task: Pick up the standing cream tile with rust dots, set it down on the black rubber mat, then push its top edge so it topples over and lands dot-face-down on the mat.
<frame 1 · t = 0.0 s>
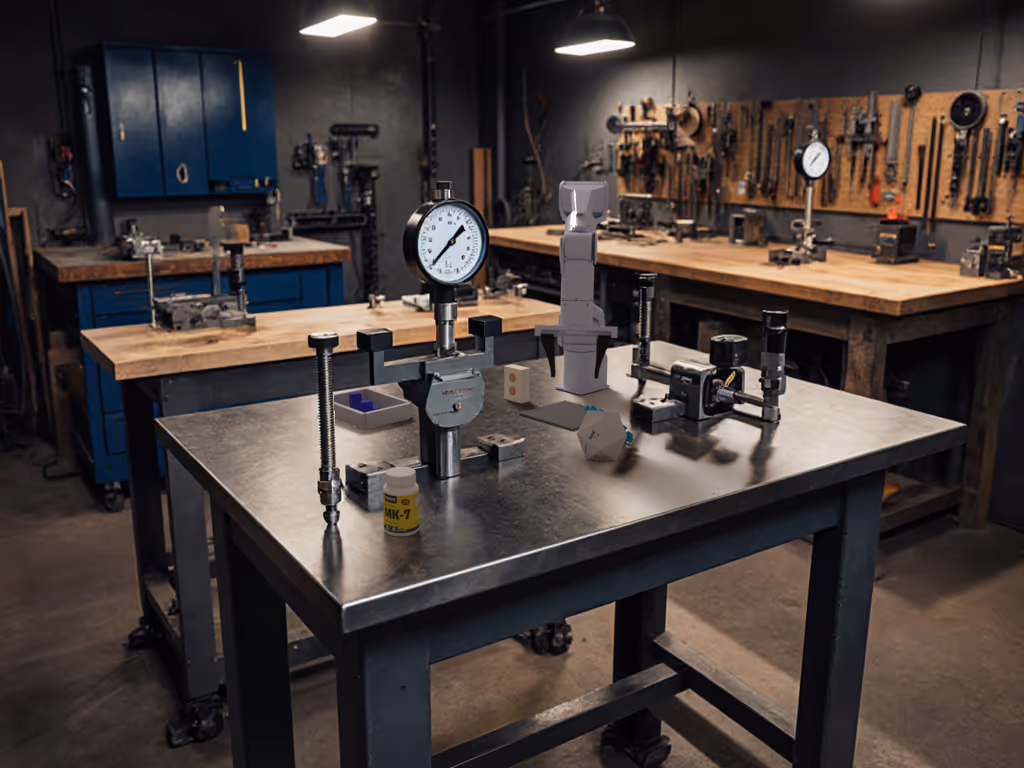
hand: (574, 377, 156), 11 cm above the table, tool pointing down, fingers open, 7 cm apart
die: (601, 458, 147), on the table
mat: (568, 415, 170), on the table
gear: (606, 445, 154), on the table
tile: (516, 400, 181), on the table
blue stepped block: (365, 417, 170), resting in parts tray
parts tray: (365, 415, 170), on the table
supplement bottle: (402, 531, 118), on the table
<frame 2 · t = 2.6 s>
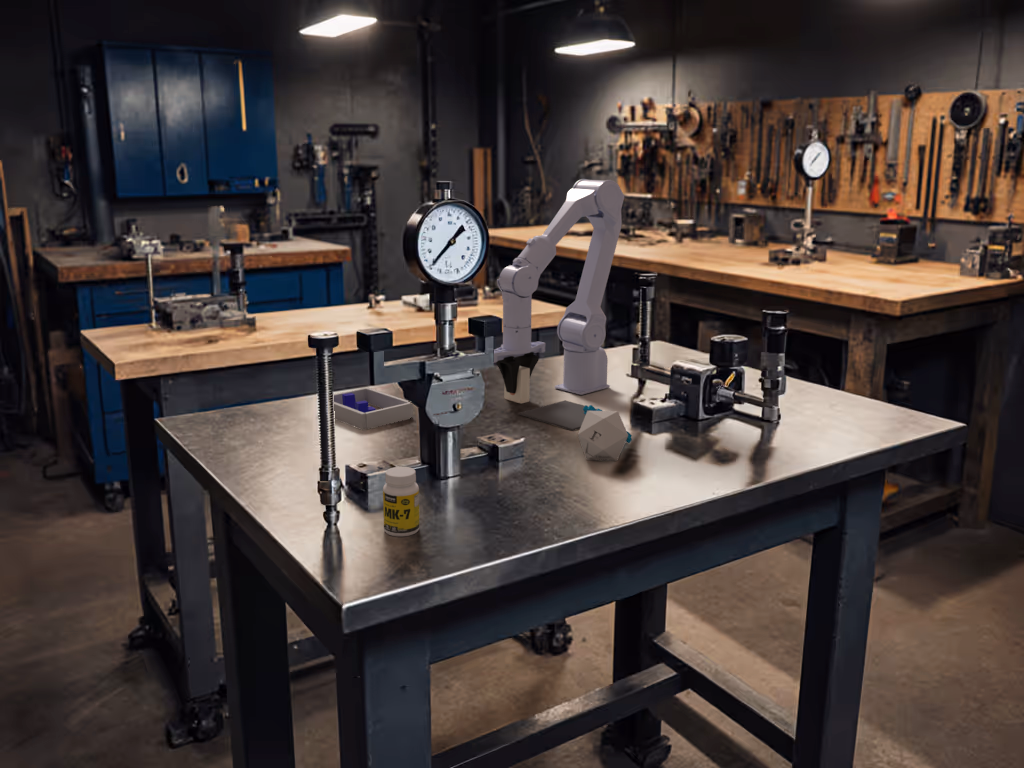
hand: (516, 390, 180), 2 cm above the table, tool pointing down, fingers closed on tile, 3 cm apart
die: (601, 458, 147), on the table, touching gear
gear: (604, 445, 154), on the table, touching die
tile: (516, 400, 181), on the table, touching gripper
blue stepped block: (359, 418, 169), resting in parts tray
everything else where it was.
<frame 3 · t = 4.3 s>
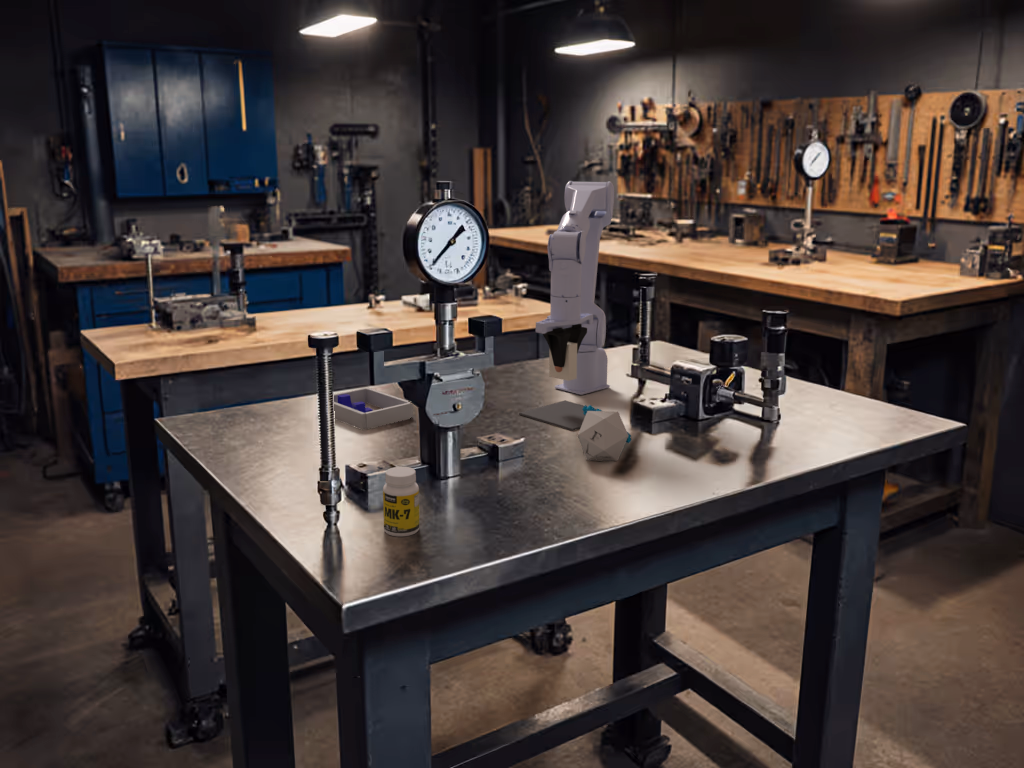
hand: (564, 365, 170), 9 cm above the table, tool pointing down, fingers closed on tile, 2 cm apart
die: (601, 458, 147), on the table
gear: (604, 445, 154), on the table
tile: (562, 377, 171), point 7 cm above the table, touching gripper
when the fingers open (3 cm above the table, at t = 6.0 s): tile stays where it is, resting on mat.
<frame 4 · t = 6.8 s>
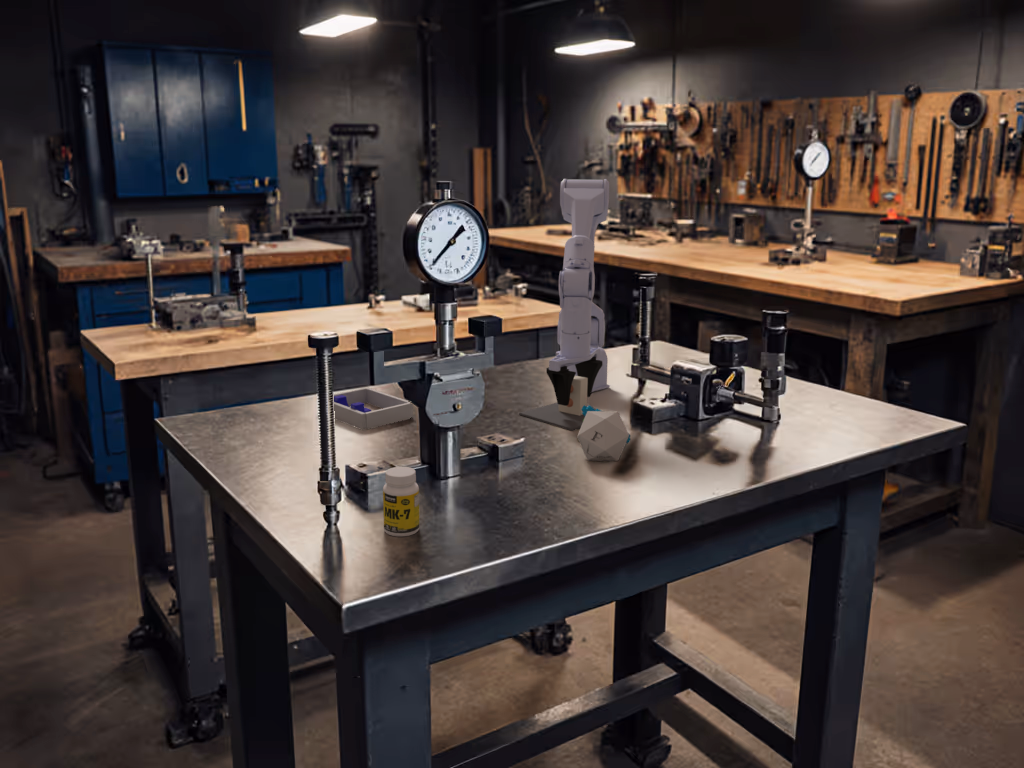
hand: (574, 400, 170), 3 cm above the table, tool pointing down, fingers open, 7 cm apart
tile: (572, 411, 171), resting on mat
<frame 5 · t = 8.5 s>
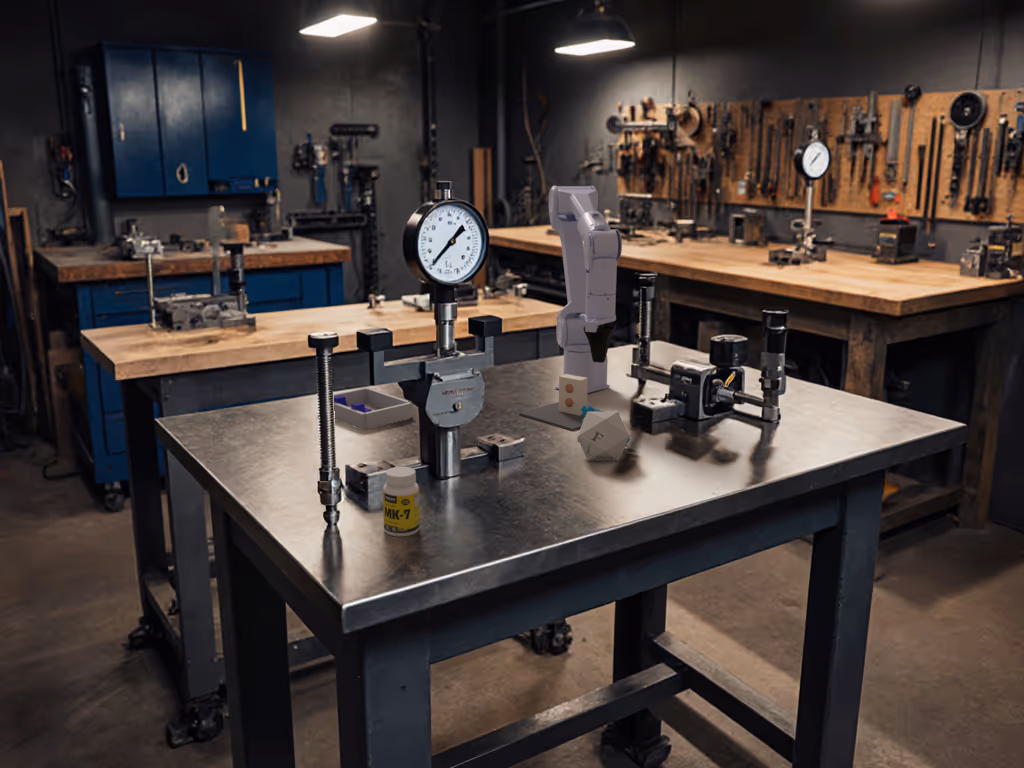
hand: (598, 361, 173), 9 cm above the table, tool pointing down, fingers closed
die: (602, 459, 146), on the table, touching gear
gear: (602, 445, 153), on the table, touching die
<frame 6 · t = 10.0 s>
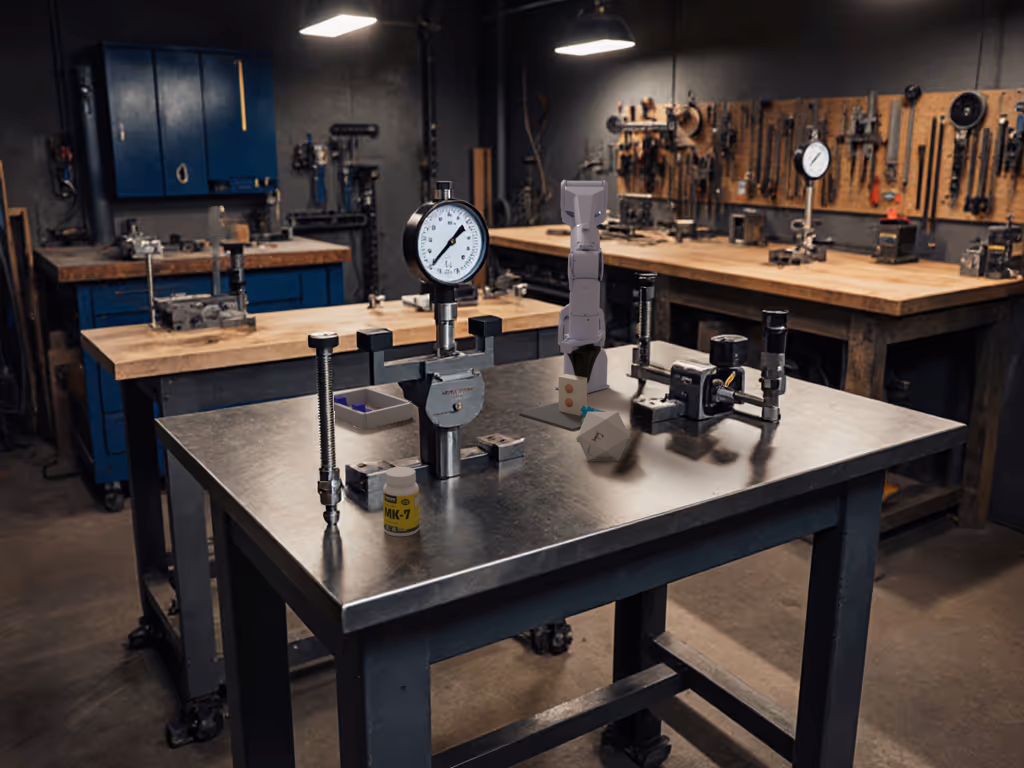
hand: (582, 382, 171), 6 cm above the table, tool pointing down, fingers closed
die: (602, 459, 146), on the table
gear: (602, 445, 153), on the table
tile: (572, 411, 171), resting on mat, touching gripper
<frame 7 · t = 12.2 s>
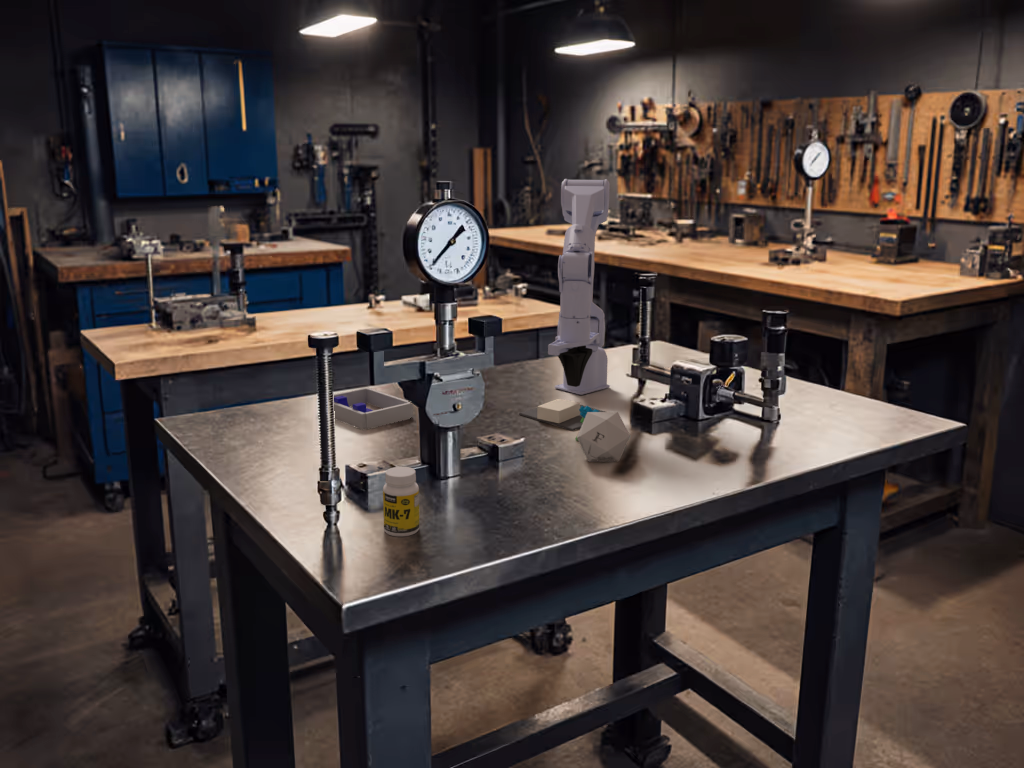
hand: (573, 385, 169), 6 cm above the table, tool pointing down, fingers closed
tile: (569, 406, 170), point 2 cm above the table, tilted 90°, touching mat
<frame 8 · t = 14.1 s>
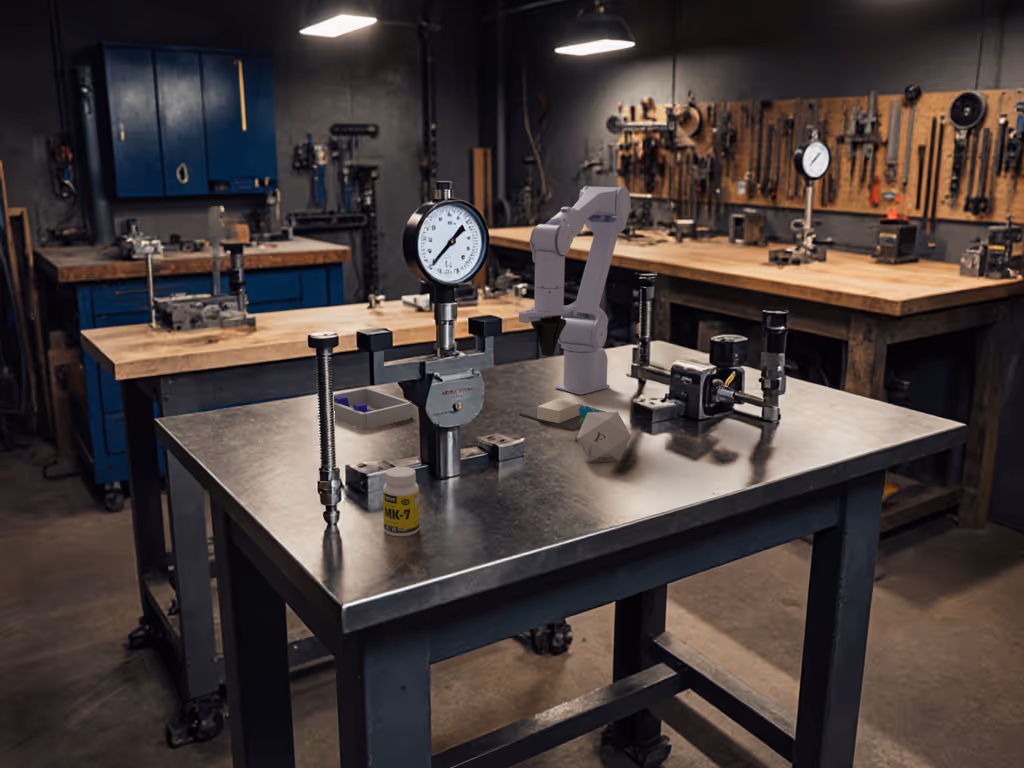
hand: (547, 355, 174), 10 cm above the table, tool pointing down, fingers closed
die: (602, 459, 146), on the table, touching gear
gear: (600, 446, 153), on the table, touching die
at the end: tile tilted 90°; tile inside the target area (1.8 cm from its centre), point 1.7 cm above the table; the gripper is holding nothing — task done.
